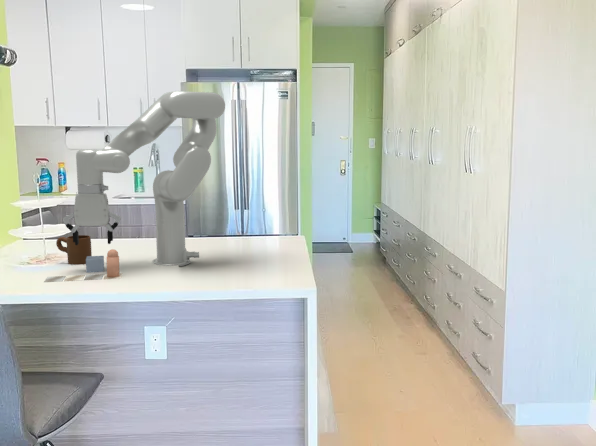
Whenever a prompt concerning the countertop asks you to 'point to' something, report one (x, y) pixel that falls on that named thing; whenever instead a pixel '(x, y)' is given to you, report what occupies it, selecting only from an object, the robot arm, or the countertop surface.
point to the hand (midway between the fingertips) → (93, 243)
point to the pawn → (112, 263)
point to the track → (80, 277)
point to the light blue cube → (94, 264)
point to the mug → (76, 249)
